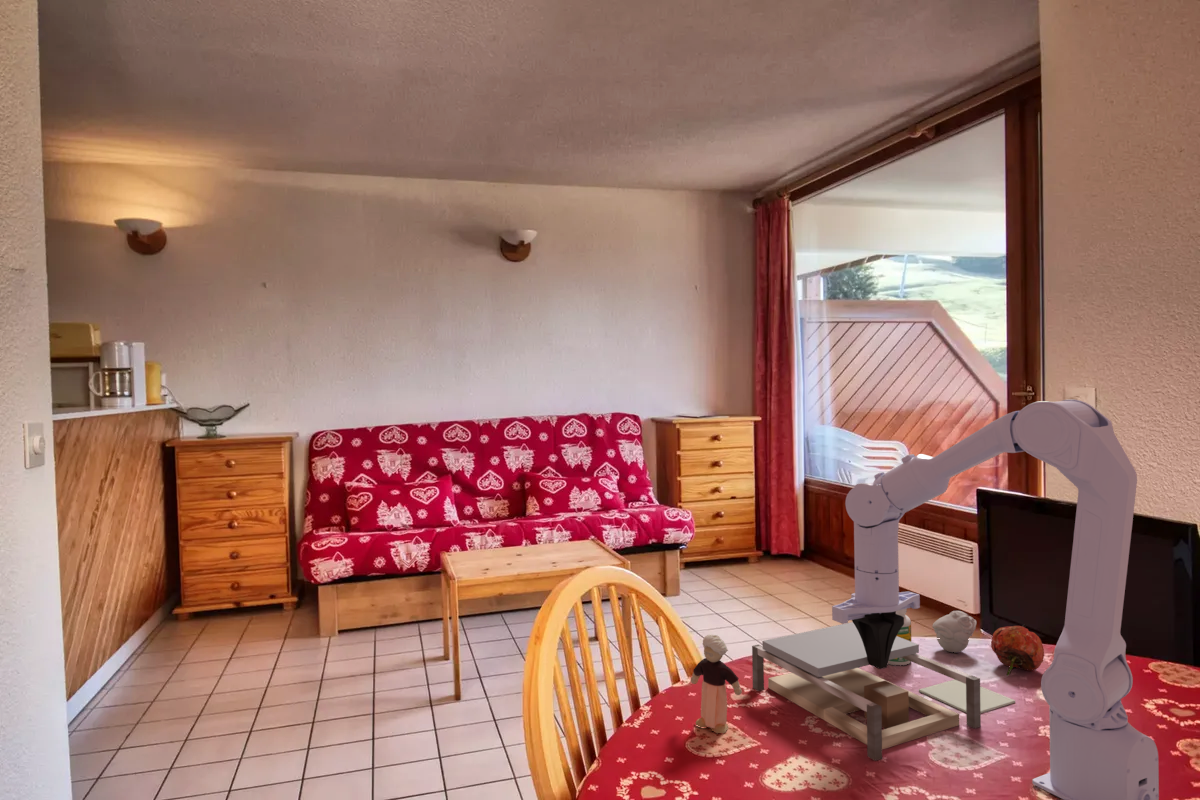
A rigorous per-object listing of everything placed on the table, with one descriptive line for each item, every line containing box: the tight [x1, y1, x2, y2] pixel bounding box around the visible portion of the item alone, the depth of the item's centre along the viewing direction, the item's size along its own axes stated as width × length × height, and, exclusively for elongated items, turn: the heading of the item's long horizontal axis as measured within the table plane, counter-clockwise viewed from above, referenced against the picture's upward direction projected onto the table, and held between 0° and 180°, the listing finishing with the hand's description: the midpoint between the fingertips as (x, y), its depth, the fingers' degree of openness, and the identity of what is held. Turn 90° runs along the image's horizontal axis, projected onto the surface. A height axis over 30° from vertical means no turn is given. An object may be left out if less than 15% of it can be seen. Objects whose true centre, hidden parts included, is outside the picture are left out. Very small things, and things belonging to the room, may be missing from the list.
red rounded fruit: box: [990, 624, 1045, 677], centre depth 114 cm, size 7×7×10 cm
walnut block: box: [864, 680, 910, 729], centre depth 98 cm, size 4×4×4 cm
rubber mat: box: [918, 679, 1016, 714], centre depth 104 cm, size 9×9×1 cm
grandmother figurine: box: [690, 634, 743, 734], centre depth 96 cm, size 8×4×13 cm, turn 62°
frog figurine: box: [932, 610, 977, 654], centre depth 122 cm, size 6×7×7 cm
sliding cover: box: [761, 621, 920, 677], centre depth 105 cm, size 12×19×1 cm, turn 115°
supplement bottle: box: [887, 608, 912, 667], centre depth 119 cm, size 5×5×10 cm
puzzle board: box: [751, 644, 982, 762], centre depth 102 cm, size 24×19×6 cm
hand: (877, 665), depth 99 cm, fingers closed, pressing on sliding cover
